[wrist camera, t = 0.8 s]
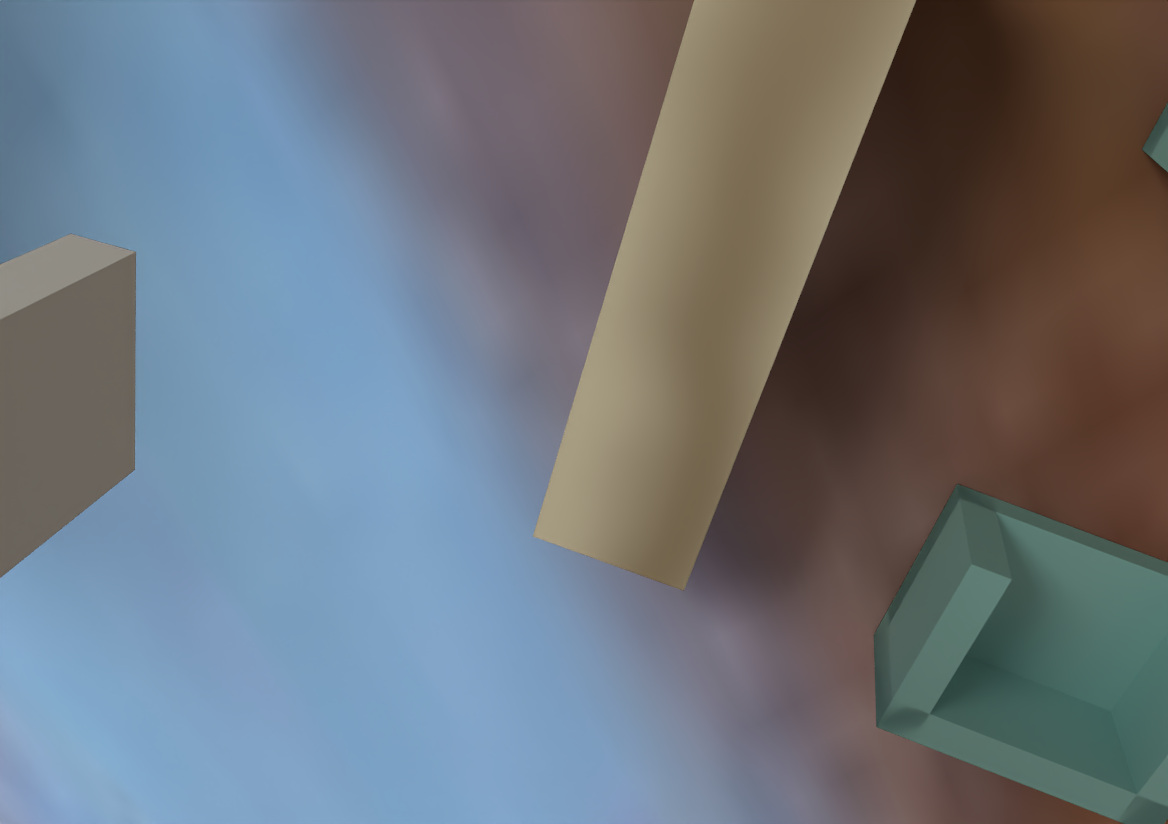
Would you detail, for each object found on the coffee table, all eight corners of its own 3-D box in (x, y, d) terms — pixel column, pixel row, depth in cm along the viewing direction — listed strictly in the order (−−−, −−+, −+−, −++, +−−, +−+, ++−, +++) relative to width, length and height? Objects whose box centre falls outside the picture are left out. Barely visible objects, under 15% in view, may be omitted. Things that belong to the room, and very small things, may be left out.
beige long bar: (576, 447, 32) (533, 536, 27) (761, -148, 24) (741, -157, 20) (707, 493, 32) (683, 590, 27) (933, -95, 24) (952, -93, 20)
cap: (873, 635, 32) (876, 727, 28) (957, 483, 29) (971, 564, 26) (1120, 730, 32) (1154, 835, 28) (1226, 584, 29) (1278, 680, 25)
